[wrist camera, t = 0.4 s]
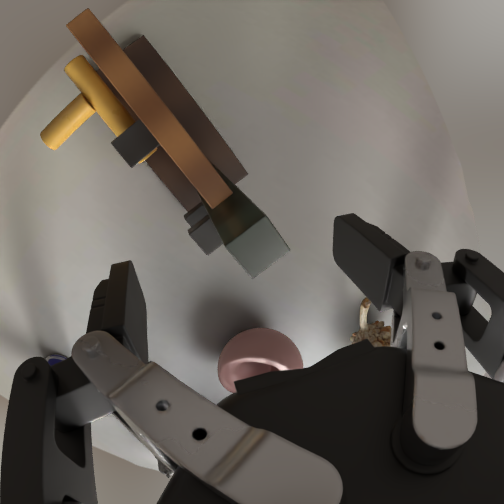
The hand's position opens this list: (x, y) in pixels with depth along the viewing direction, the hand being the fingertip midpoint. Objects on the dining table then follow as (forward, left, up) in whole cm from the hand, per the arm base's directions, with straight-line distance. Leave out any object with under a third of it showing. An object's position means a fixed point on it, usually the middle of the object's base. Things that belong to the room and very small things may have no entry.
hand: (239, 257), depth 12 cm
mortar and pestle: (+29, +3, -25) cm, 38 cm away
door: (-4, -1, -25) cm, 25 cm away
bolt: (-6, -7, -15) cm, 18 cm away
